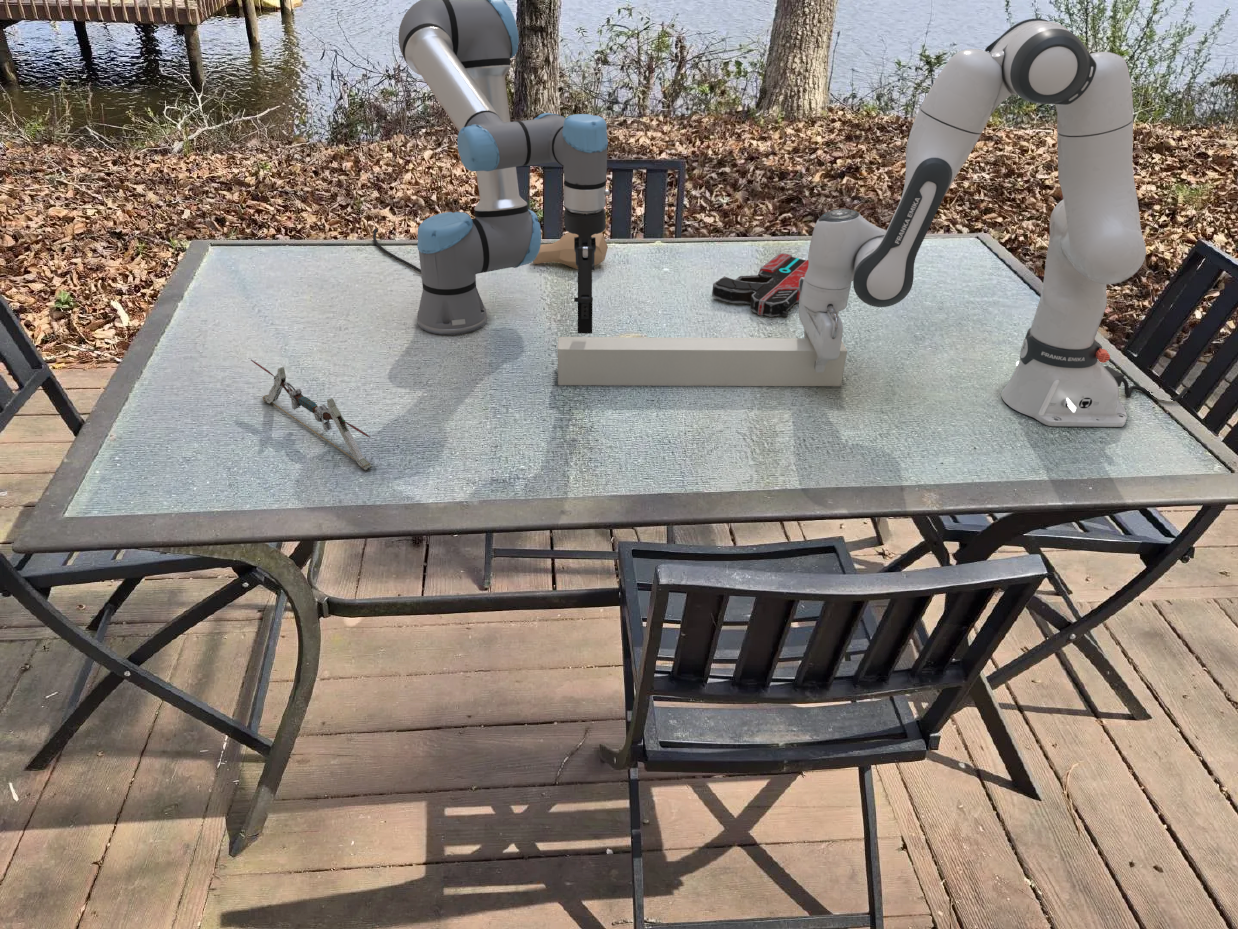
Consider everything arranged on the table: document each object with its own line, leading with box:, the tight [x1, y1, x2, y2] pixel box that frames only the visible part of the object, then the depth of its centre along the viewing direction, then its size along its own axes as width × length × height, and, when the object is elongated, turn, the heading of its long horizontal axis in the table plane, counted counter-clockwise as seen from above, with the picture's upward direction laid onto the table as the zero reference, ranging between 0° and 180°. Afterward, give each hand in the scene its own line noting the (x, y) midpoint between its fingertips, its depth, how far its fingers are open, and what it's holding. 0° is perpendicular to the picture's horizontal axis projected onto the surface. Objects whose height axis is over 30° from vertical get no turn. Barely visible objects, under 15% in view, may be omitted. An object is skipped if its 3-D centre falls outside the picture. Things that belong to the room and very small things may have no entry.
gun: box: [711, 252, 809, 318], centre depth 215 cm, size 4×31×19 cm
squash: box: [532, 232, 609, 270], centre depth 226 cm, size 11×20×9 cm, turn 90°
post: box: [557, 336, 848, 387], centre depth 175 cm, size 57×6×8 cm, turn 92°
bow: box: [250, 359, 373, 471], centre depth 154 cm, size 39×2×10 cm, turn 47°
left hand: (584, 317), depth 169 cm, fingers open, 13 cm apart
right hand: (813, 359), depth 176 cm, fingers open, 8 cm apart
